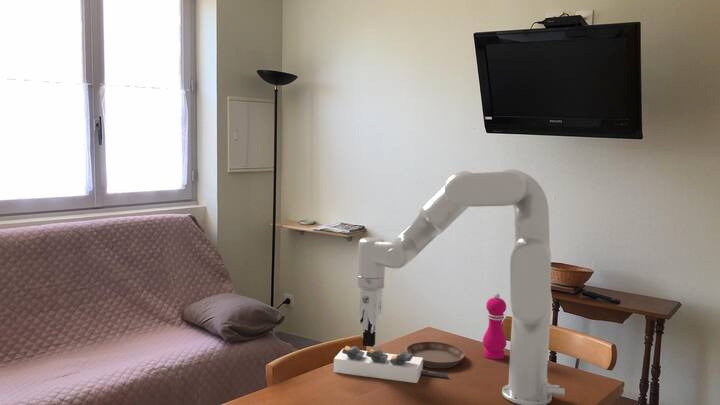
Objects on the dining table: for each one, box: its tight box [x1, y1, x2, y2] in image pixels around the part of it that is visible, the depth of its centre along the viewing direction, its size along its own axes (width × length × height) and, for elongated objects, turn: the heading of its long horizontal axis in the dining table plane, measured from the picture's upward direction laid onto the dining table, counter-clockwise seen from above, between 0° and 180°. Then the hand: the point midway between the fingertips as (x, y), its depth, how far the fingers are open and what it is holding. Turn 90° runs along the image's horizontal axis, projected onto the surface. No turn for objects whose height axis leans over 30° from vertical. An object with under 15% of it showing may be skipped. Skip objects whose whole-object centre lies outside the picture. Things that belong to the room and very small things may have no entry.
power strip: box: [333, 347, 449, 384], centre depth 174 cm, size 32×9×4 cm, turn 75°
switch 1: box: [342, 345, 365, 360], centre depth 175 cm, size 6×4×3 cm, turn 75°
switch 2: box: [390, 351, 413, 365], centre depth 171 cm, size 6×4×3 cm, turn 74°
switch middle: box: [366, 347, 388, 363], centre depth 173 cm, size 6×4×3 cm, turn 75°
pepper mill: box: [482, 292, 507, 361], centre depth 189 cm, size 7×7×20 cm
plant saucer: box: [405, 341, 466, 369], centre depth 186 cm, size 18×18×3 cm
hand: (368, 345), depth 173 cm, fingers closed
